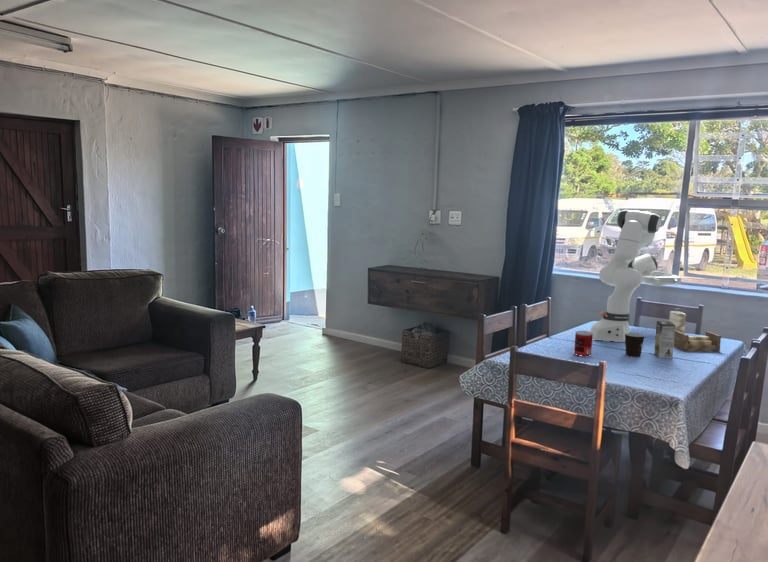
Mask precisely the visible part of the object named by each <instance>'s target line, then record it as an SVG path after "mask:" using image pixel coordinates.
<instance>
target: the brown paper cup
mask: <svg viewBox="0 0 768 562" xmlns="http://www.w3.org/2000/svg"><path fill="white" fill-rule="evenodd" d="M644 341H645V334H642V333H639V332H638V333H637V332H629V333H625V342H624V343H625V344H624V345H625V356H627V355H628V357H631V356H632V357H634V358H640V357H641V355H642V351H643V346H644Z"/></svg>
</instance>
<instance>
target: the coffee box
mask: <svg viewBox="0 0 768 562" xmlns="http://www.w3.org/2000/svg"><path fill="white" fill-rule="evenodd" d="M655 327H656V330H655V339H654V340H655V342H654V354H655V355H656V356H657V358H659V359H673V357H674V336H675V325H674V324H673V323H672V322H669V321H664V320H657V321H656V326H655Z"/></svg>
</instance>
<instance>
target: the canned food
mask: <svg viewBox="0 0 768 562" xmlns="http://www.w3.org/2000/svg"><path fill="white" fill-rule="evenodd" d="M574 336H575V337H574V352H573V353H574V355H575V354H577V355H582V356H589V355H591V356H592V348H593V347H592V345H593V340H592V336H593V333H592V332H590V331H588V330H577V331H575V335H574Z"/></svg>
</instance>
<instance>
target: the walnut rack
mask: <svg viewBox="0 0 768 562" xmlns="http://www.w3.org/2000/svg"><path fill="white" fill-rule="evenodd" d="M689 336H690V335H689V334H686V333H682V332H679V331H675V336H674V346H675V348H676V347H677V349H678V350H680V351H683V350H684V351H683V352H696V351H720V352H721V341H722V340H721V339H722V336H721V335H720V334H717V333H714V332H712V331H706V332H705V336H708V337H709V340H710V341H712V345H688V338H689Z"/></svg>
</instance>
